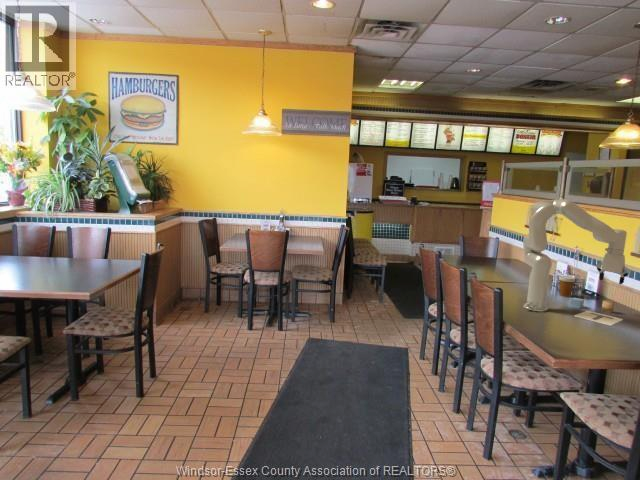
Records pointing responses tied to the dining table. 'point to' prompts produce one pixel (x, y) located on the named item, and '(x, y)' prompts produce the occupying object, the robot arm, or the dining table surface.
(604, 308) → the wood cylinder
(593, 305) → the dining table surface
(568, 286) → the disposable coffee cup
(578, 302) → the slate cube
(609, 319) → the letter mat
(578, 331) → the dining table surface
